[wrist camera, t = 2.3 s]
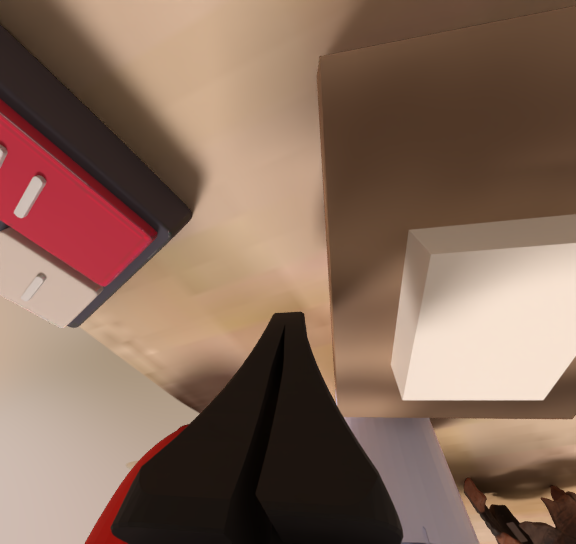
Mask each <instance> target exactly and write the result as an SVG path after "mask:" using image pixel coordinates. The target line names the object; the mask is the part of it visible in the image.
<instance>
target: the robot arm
mask: <svg viewBox="0 0 576 544" xmlns="http://www.w3.org/2000/svg"><path fill="white" fill-rule="evenodd" d="M335 393H336V389H335ZM110 528H111V532H112V534H113V535H114V536H115V537H117V538H118V539H120V540H122V541H124V542H126V543H128V544H479V541H478V539H477V536H476V534H475V531H474V529H473V526H472V524H471V521H470V519H469V516H468V514H467V511H466V509H465V506H464V504H463V501H462V499H461V496H460V494H459V491H458V489H457V486H456V484H455V481H454V479H453V476H452V474H451V471H450V469H449V466H448V464H447V461H446V459H445V456H444V454H443V451H442V449H441V446H440V444H439V441H438V439H437V436H436V434H435V431H434V429H433V426H432V424H431V421H430V418H384V417H343V415H342V414H341V412H340V410H339V408H338V407H337V397H336V403H335V401H334V399H333V397H332V395H331V394H330V392H329V390H328V388H327V386H326V384H325V381H324V379H323V377H322V375H321V373H320V371H319V368H318V366H317V363H316V361H315V358H314V356H313V353H312V350H311V347H310V344H309V341H308V338H307V332H306V325H305V317H304V313H302V312H288V313H275V314H274V315H273V316H272V318H271V320H270V322H269V324H268V326H267V327H266V329H265V331H264V333H263V334H262V336H261V338H260V339H259V341H258V343H257V344H256V346H255V347H254V349H253V350H252V352H251V353H250V355H249V356H248V358H247V359H246V360H245V362H244V363H243V365H242V366H241V368H240V369H239V370H238V371H237V373H236V374H235V375H234V377H233V378H232V379H231V380H230V382H229V383H228V384H227V385H226V386H225V388H224V389H223V390H222V391H221V392H220V393H219V394H218V395H217V397H216V398H215V399H214V400H213V401H212V402H211V403H210V404H209V405H208V406H207V407H206V408H205V409H204V410H203V412H202V413H200V414H199V415H198V416H197V417H196V418H195V420H193V421H192V422H191V423H190V424H189V425H188V426H187V427H186V428H185V429H184V430H183V431H182V432H181V433H180V434H179V435H177V436H176V437H175V438H174V439H173V440H172V441H171V442H169V443H168V444H167V445H166V446H165V447H164V448H162V449H161V450H160V451H159V452H158V453H157V454H155V455H154V456H153V457H152V458H151V459H150V460H148V461H147V462H146V463H145V464H144V465H142V466H141V468H140V470H139V472H138V473H137V475H136V477H135V479H134V480H133V482H132V484H131V486H130V488H129V490H128V492H127V494H126V496H125V498H124V501H123V503H122V505H121V507H120V509H119V511H118V513H117V515H116V517H115V519H114V521H113V523H112V525H111V527H110Z"/></svg>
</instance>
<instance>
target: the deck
mask: <svg viewBox="0 0 576 544" xmlns="http://www.w3.org/2000/svg"><path fill="white" fill-rule="evenodd" d="M317 88H318V105H319V122H320V139H321V156H322V173H323V190H324V207H325V224H326V241H327V258H328V275H329V292H330V310H331V327H332V344H333V361H334V376H335V386H336V397H337V407H338V408H339V410H340V412H341V414H342V415H343V417H384V418H496V419H573V418H574V416H575V415H576V356H575V358H574V359H573V361H572V362H571V363H570V365H569V366H568V367H567V369H566V370H565V371H564V373H563V374H562V376H561V377H560V378H559V380H558V381H557V382H556V384H555V385H554V386H553V388H552V389H551V391H550V392H549V393H548V395H547V396H546V397H545V399H544V400H402V397H401V394H400V391H399V388H398V385H397V382H396V379H395V376H394V373H393V370H392V367H391V360H392V352H393V344H394V337H395V329H396V322H397V314H398V307H399V299H400V292H401V284H402V277H403V269H404V262H405V254H406V247H407V239H408V232H409V230H412V229H423V228H433V227H444V226H455V225H465V224H476V223H487V222H497V221H508V220H519V219H529V218H540V217H551V216H561V215H572V214H576V6H571V7H566V8H561V9H556V10H551V11H546V12H541V13H536V14H531V15H526V16H521V17H516V18H511V19H505V20H500V21H495V22H490V23H485V24H480V25H475V26H470V27H465V28H460V29H455V30H450V31H445V32H440V33H435V34H430V35H425V36H420V37H415V38H410V39H405V40H399V41H394V42H389V43H384V44H379V45H374V46H369V47H364V48H359V49H354V50H349V51H344V52H339V53H334V54H329V55H324V56H320V58H319V65H318V72H317Z"/></svg>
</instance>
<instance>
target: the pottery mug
mask: <svg viewBox="0 0 576 544" xmlns="http://www.w3.org/2000/svg"><path fill="white" fill-rule="evenodd" d="M550 487H551V496H552V498H553V500H554V501H552V500H549V499H547V498H542V497H541V500H542V501H543V502H544V503H545V505H546V507H547V508H548V510H549V513H550V515H551V517H552V520H553V522H554V524H555V526H556V528H554V527H552V526H550V525H548V524H546V523H541V522H528V521H525V522H522V523H519V522H518V520H517V519H516V518H515V517H514V516H513V515H512V513H511V512H510V511H509V509H508V508H507V507H506V506H505V505H493V504H492V505H491V506H490V508H489V509H488V508H487V506H486V505H485V502H486V500H487V499H486V496H485V495H484V494H483V493H482V492H481V491H480V490H478V489H477V488H476V485H475V484H474V482H473V481H472V480H471V478H467V479H466V481H465V484H464V493H465V495H466V496H467V497H468V499H469V500H470V502H471V503H472V505H473V507H474V508H475V510H476V511H477V512H478V513H479V514H480V516H481V518H482V519H483V520H484V521H485V524H486V525H487V527H488V528H489V529H490V530H491V532H492V534H493V535H494V536H495V538H496V540H497V542H498V544H576V494H575V493H573V492H569V491H568V492H566V493H565V492H564V491H563V490H561V489H559V488H558V487H556V486H554V485H552V486H550Z"/></svg>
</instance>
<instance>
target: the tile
mask: <svg viewBox="0 0 576 544" xmlns="http://www.w3.org/2000/svg"><path fill="white" fill-rule="evenodd" d="M575 356H576V214H572V215H561V216H551V217H540V218H529V219H519V220H508V221H497V222H487V223H476V224H465V225H455V226H444V227H433V228H423V229H412V230H409V232H408V239H407V247H406V254H405V262H404V269H403V277H402V284H401V292H400V299H399V307H398V314H397V322H396V329H395V337H394V344H393V352H392V360H391V367H392V370H393V373H394V376H395V379H396V382H397V385H398V388H399V391H400V394H401V397H402V400H544V399H545V397H546V396H547V395H548V393H549V392H550V391H551V389H552V388H553V386H554V385H555V384H556V382H557V381H558V380H559V378H560V377H561V376H562V374H563V373H564V371H565V370H566V369H567V367H568V366H569V365H570V363H571V362H572V361H573V359H574V358H575Z"/></svg>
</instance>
